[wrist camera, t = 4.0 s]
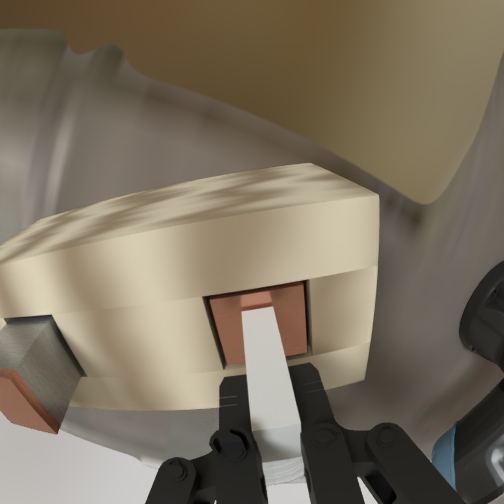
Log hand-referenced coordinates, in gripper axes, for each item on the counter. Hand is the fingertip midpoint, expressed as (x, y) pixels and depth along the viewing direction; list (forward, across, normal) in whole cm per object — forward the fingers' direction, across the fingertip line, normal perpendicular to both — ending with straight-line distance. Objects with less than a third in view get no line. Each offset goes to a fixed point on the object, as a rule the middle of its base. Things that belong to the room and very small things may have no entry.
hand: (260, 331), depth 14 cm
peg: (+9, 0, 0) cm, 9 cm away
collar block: (+12, +7, 0) cm, 14 cm away
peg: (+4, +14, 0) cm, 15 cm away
